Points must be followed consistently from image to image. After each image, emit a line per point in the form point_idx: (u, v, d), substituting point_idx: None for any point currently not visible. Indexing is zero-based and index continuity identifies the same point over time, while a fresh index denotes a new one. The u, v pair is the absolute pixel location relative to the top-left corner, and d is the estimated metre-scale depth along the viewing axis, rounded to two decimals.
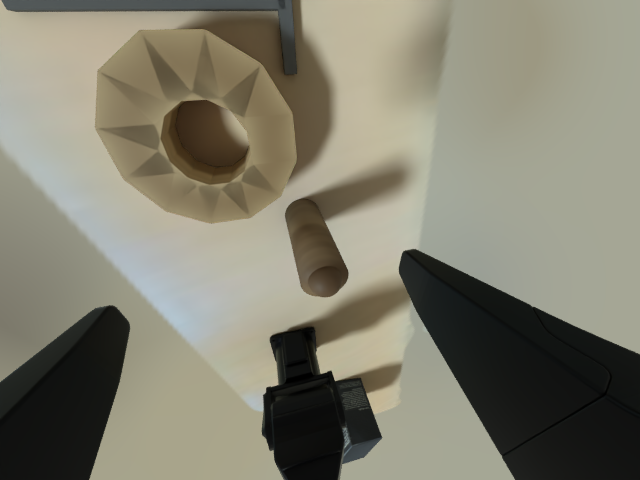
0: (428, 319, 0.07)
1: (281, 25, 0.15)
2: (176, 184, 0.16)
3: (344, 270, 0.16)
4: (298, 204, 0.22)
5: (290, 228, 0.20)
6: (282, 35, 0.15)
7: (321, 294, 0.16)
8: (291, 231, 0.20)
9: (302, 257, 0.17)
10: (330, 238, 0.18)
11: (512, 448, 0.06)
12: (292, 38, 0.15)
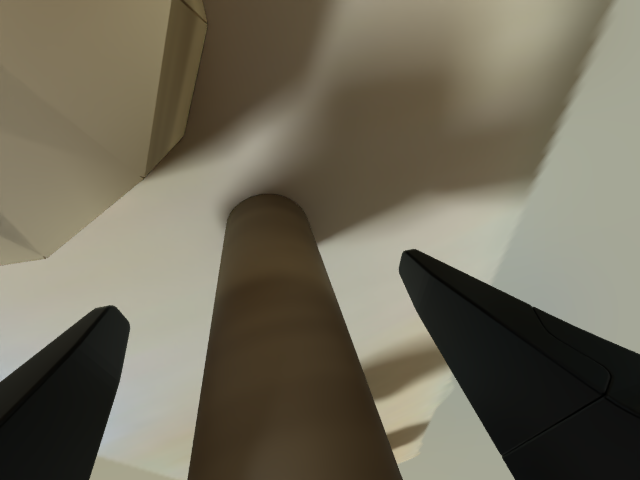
0: (428, 319, 0.07)
1: None
2: None
3: None
4: (251, 206, 0.08)
5: (218, 278, 0.07)
6: None
7: None
8: (216, 291, 0.07)
9: None
10: (337, 339, 0.05)
11: (512, 448, 0.06)
12: None
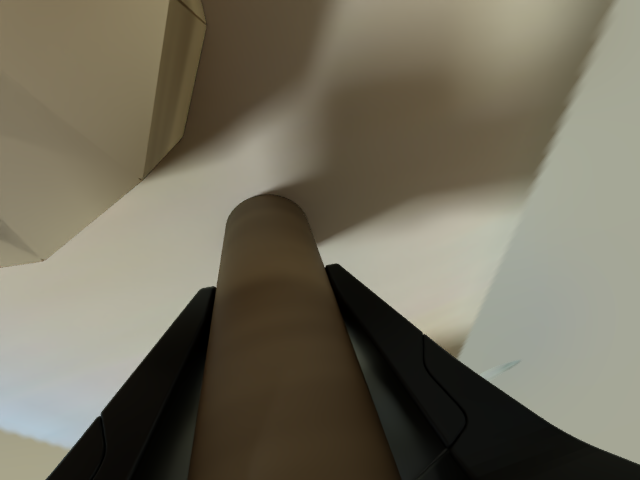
0: None
1: None
2: None
3: None
4: (251, 207, 0.08)
5: None
6: None
7: None
8: (216, 293, 0.06)
9: None
10: (337, 342, 0.05)
11: None
12: None
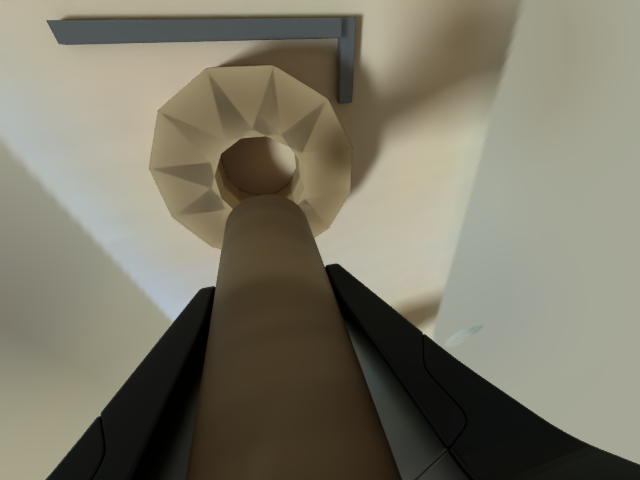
0: None
1: (342, 54, 0.14)
2: (225, 220, 0.15)
3: None
4: (251, 207, 0.08)
5: (217, 280, 0.07)
6: (341, 64, 0.14)
7: None
8: (215, 292, 0.06)
9: None
10: (338, 342, 0.05)
11: None
12: (351, 66, 0.14)
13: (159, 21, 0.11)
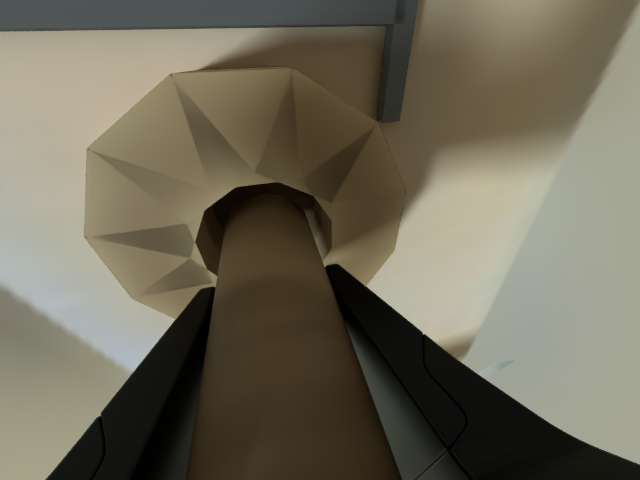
0: None
1: (392, 50, 0.09)
2: None
3: None
4: (251, 206, 0.08)
5: (217, 279, 0.07)
6: (390, 65, 0.09)
7: None
8: (215, 292, 0.06)
9: None
10: (338, 342, 0.05)
11: None
12: (404, 70, 0.09)
13: None
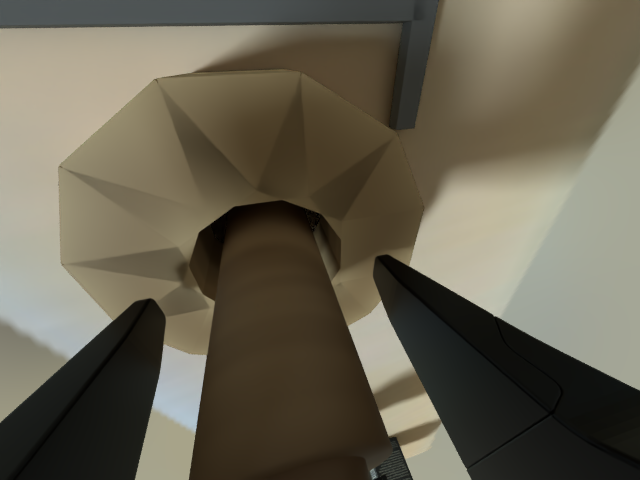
0: (398, 326, 0.07)
1: (410, 50, 0.08)
2: (211, 321, 0.09)
3: (379, 450, 0.04)
4: None
5: (222, 252, 0.08)
6: (406, 67, 0.08)
7: None
8: (221, 261, 0.07)
9: (209, 391, 0.04)
10: (323, 293, 0.06)
11: (475, 462, 0.05)
12: (421, 72, 0.08)
13: None
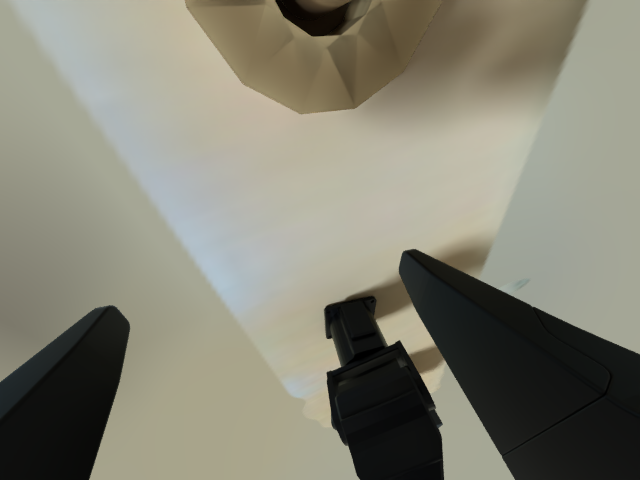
0: (428, 319, 0.07)
1: None
2: (265, 29, 0.10)
3: None
4: None
5: None
6: None
7: None
8: None
9: None
10: None
11: (512, 448, 0.06)
12: None
13: None
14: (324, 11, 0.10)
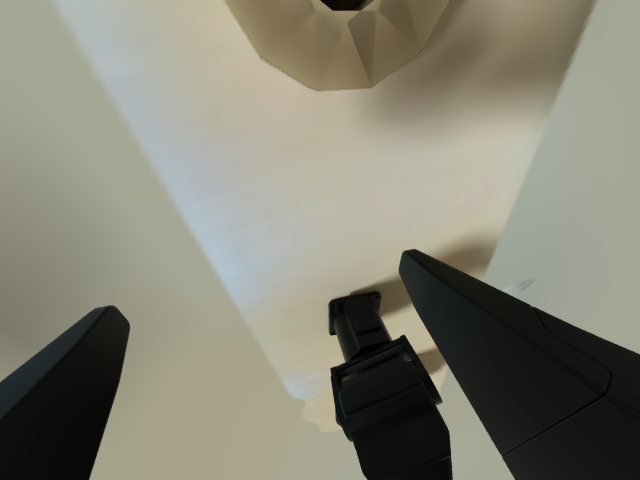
0: (428, 319, 0.07)
1: None
2: (287, 1, 0.10)
3: None
4: None
5: None
6: None
7: None
8: None
9: None
10: None
11: (512, 448, 0.06)
12: None
13: None
14: None
